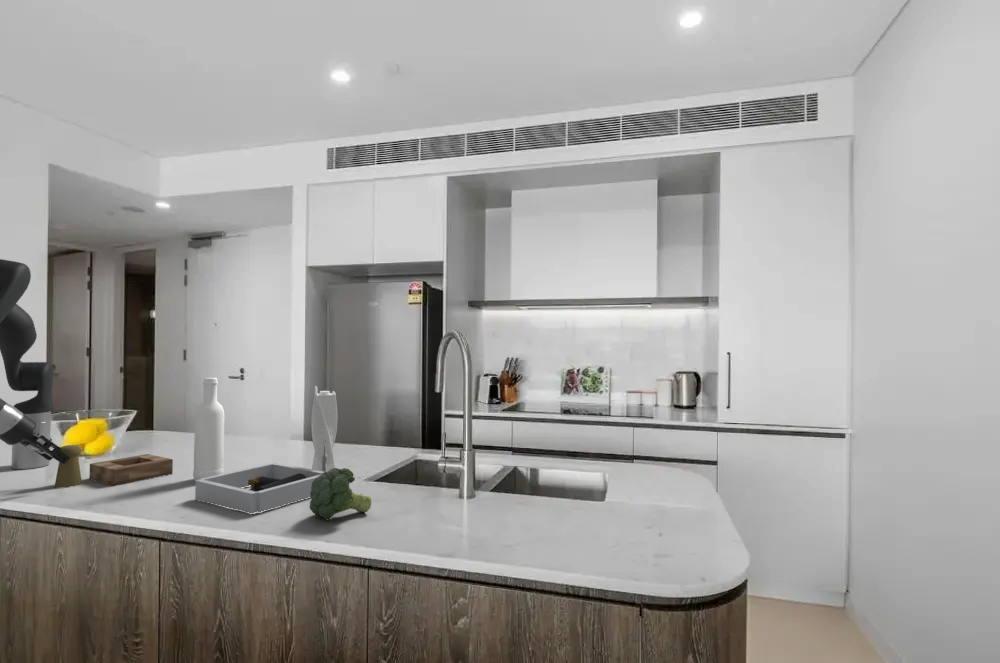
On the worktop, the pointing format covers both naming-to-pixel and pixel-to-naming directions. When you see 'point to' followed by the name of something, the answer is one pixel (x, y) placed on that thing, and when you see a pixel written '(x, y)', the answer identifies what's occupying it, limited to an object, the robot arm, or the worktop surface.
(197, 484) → the tray rim
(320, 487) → the vegetable
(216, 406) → the bottle
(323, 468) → the skyscraper
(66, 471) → the cork
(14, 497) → the worktop surface
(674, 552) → the worktop surface
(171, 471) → the socket block
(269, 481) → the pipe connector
